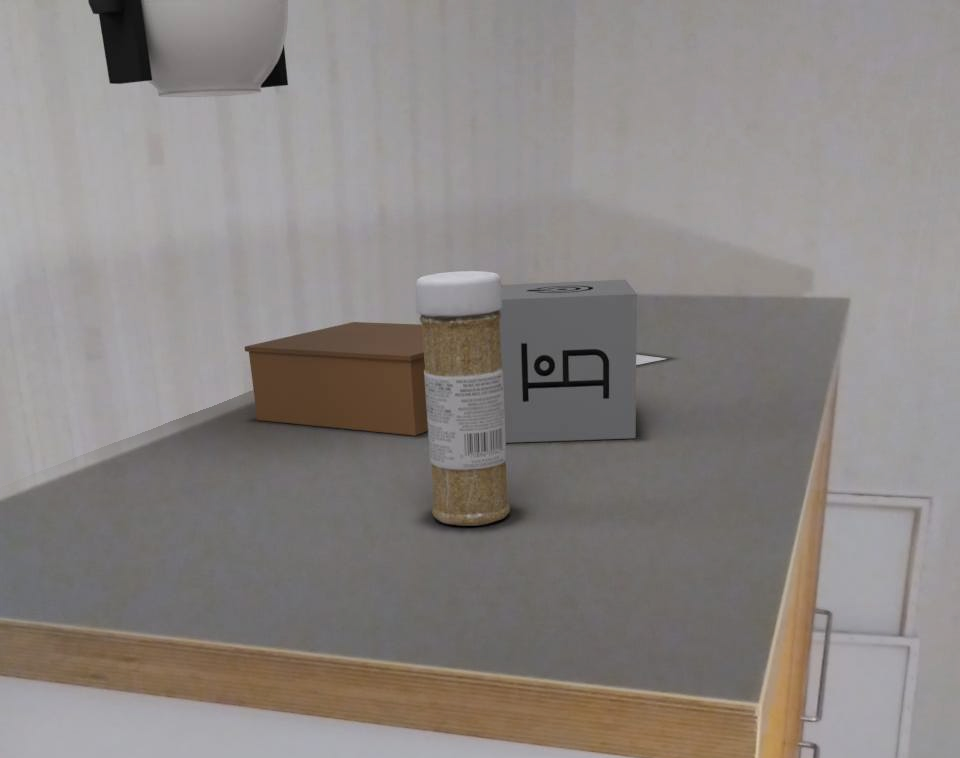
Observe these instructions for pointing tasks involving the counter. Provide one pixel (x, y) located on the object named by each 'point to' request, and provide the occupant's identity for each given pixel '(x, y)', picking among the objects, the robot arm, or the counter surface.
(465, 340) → the sprinkles bottle
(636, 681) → the counter surface
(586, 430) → the icon cube
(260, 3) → the trinket box
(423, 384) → the takeaway box
